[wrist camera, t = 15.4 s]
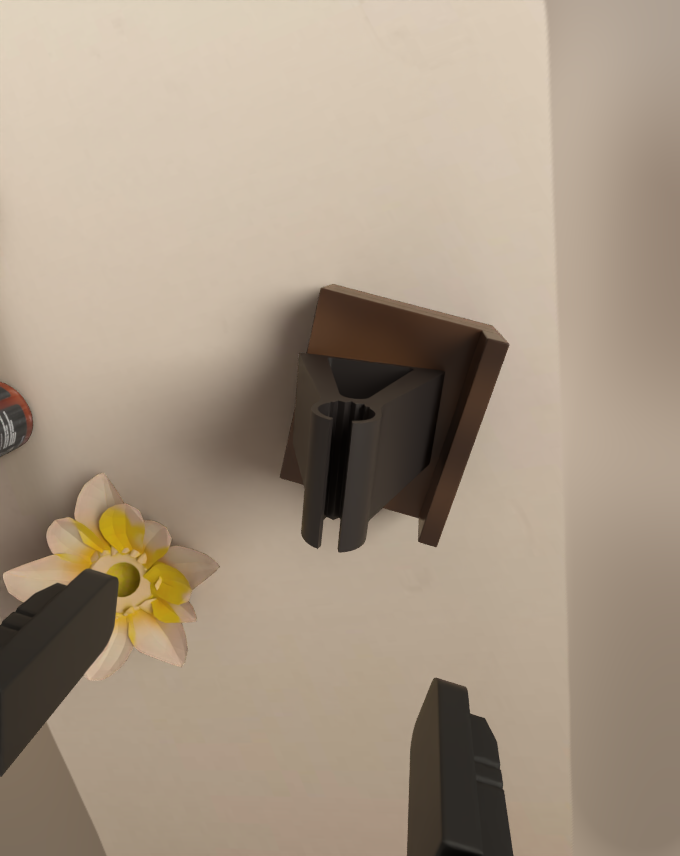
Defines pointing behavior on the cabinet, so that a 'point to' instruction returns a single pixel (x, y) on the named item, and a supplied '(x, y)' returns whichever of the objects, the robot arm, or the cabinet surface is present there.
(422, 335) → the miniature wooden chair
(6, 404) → the supplement bottle
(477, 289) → the cabinet surface
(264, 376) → the cabinet surface
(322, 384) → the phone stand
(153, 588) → the decorative flower
